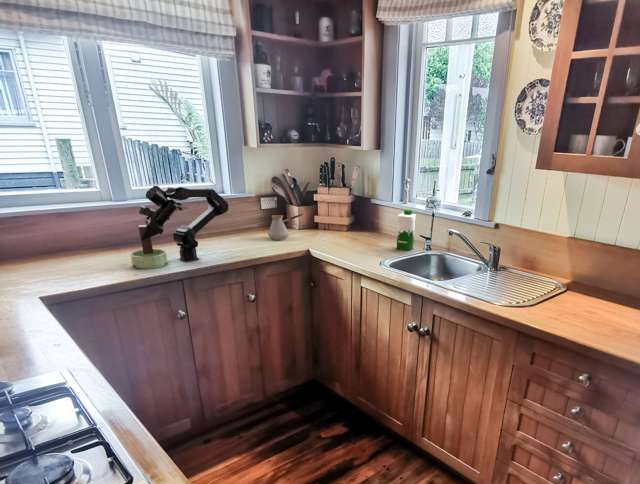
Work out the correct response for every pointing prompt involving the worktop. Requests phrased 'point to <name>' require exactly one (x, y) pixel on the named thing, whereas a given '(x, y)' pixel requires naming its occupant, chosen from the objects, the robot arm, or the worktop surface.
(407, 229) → the milk carton
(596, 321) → the worktop surface
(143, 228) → the brown wooden block
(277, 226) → the coffee pot
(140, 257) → the bowl
